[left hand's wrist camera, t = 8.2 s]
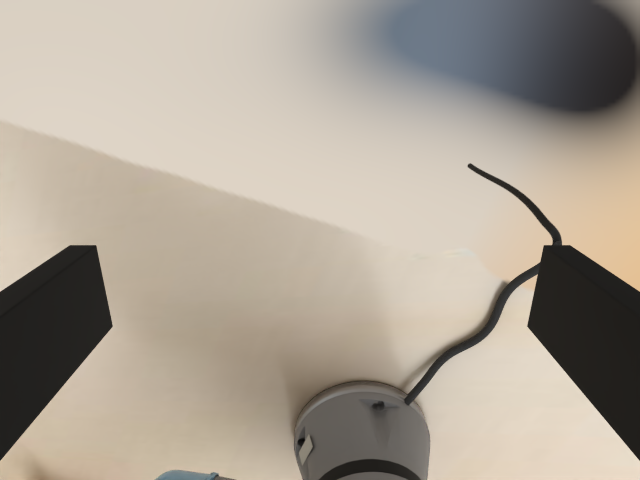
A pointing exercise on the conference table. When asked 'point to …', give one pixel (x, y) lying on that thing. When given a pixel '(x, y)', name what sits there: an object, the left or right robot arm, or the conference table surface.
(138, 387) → the conference table surface
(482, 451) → the conference table surface
